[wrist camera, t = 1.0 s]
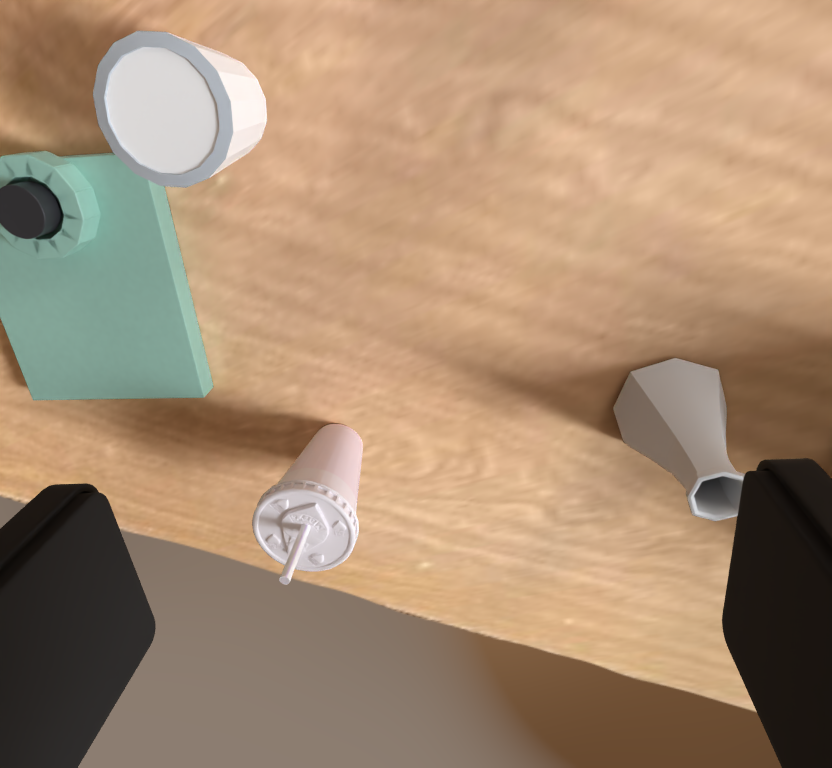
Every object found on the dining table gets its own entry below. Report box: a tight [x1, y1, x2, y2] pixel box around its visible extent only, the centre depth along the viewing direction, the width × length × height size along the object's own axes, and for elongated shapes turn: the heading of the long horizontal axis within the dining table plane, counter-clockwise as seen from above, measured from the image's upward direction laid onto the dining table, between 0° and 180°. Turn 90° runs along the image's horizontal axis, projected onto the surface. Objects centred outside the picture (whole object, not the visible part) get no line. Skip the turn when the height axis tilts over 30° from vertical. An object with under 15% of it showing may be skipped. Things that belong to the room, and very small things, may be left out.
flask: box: [613, 358, 745, 521], centre depth 36 cm, size 7×7×10 cm
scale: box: [0, 151, 214, 400], centre depth 39 cm, size 16×13×4 cm
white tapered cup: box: [93, 31, 267, 187], centre depth 32 cm, size 7×7×7 cm
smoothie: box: [252, 424, 363, 584], centre depth 38 cm, size 6×6×14 cm
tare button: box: [0, 181, 61, 239], centre depth 35 cm, size 3×3×2 cm
